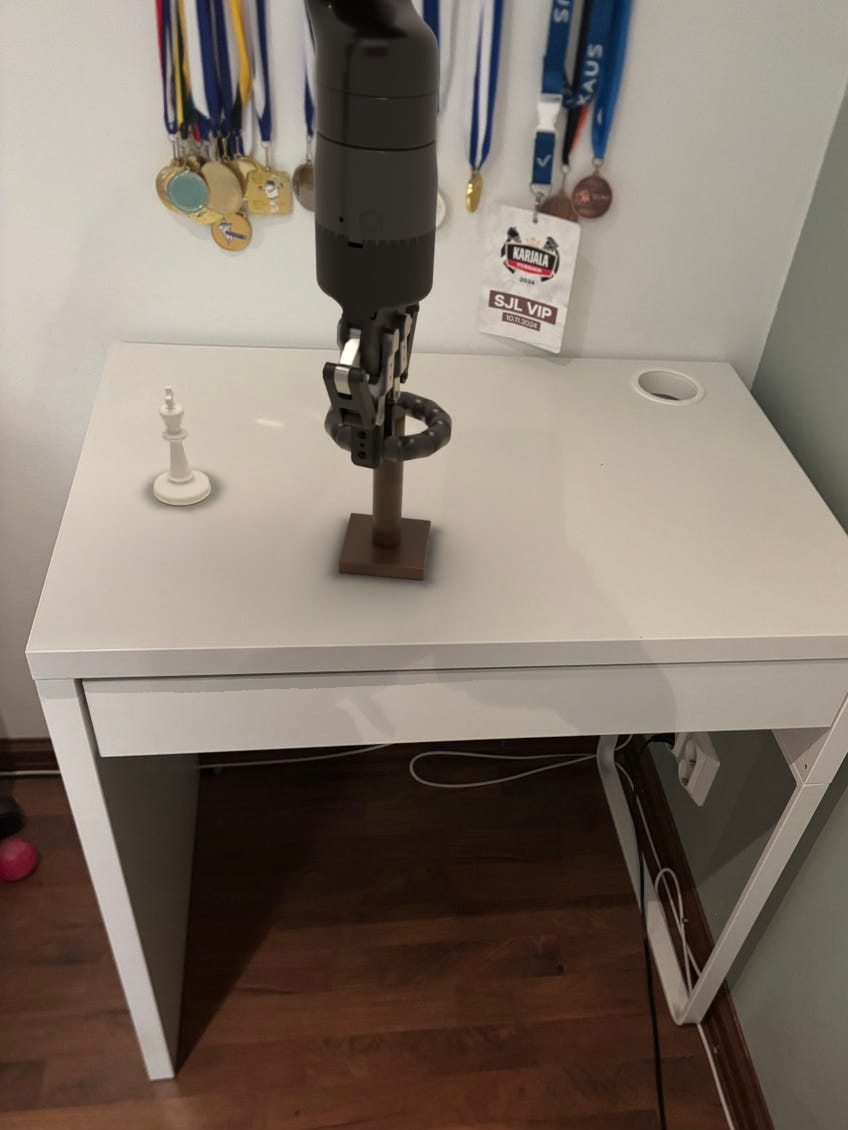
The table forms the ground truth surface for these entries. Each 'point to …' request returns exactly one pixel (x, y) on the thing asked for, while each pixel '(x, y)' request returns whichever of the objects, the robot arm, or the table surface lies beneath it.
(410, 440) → the ring
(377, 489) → the peg stand
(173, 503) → the chess piece
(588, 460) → the table surface
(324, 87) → the robot arm
